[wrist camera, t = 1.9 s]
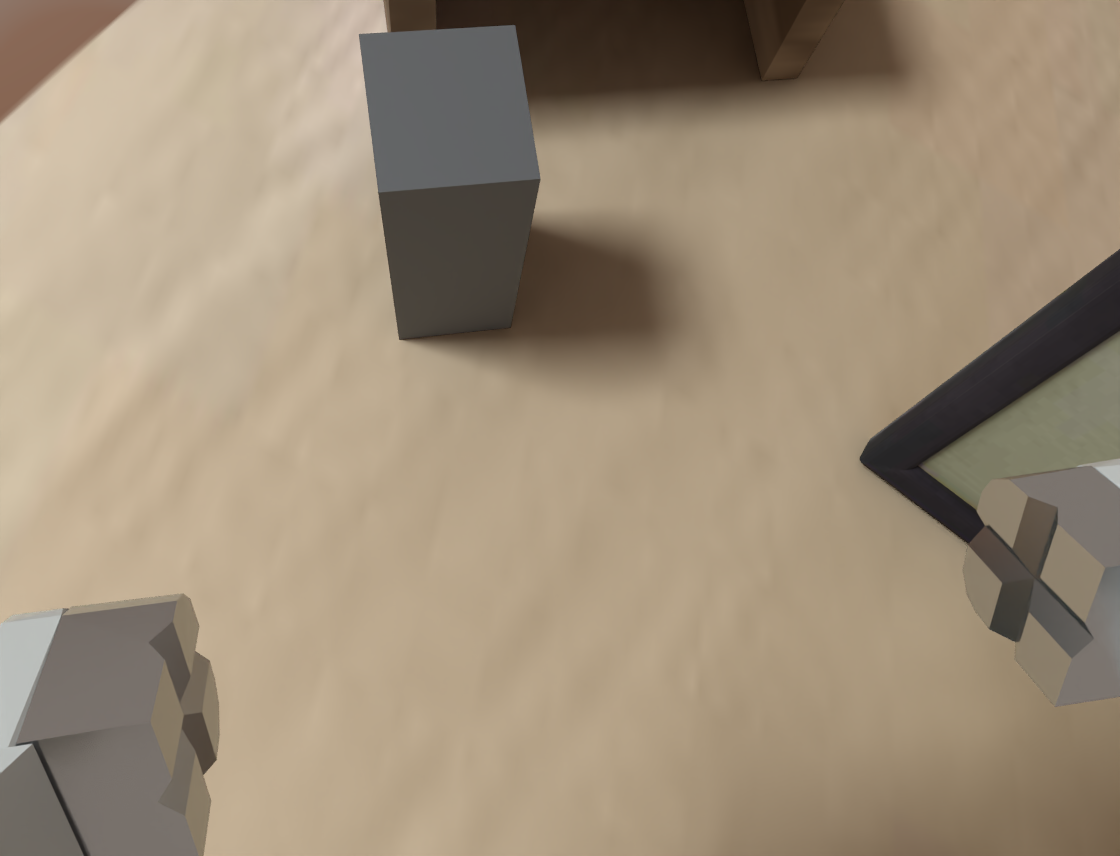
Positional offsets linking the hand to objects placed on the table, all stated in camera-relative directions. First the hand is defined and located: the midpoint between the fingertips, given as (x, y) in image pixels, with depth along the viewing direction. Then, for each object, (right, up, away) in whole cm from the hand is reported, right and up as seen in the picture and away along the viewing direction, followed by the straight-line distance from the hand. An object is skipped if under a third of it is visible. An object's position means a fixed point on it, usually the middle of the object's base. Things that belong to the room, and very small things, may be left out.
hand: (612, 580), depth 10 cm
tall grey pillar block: (-5, +7, +25) cm, 26 cm away
